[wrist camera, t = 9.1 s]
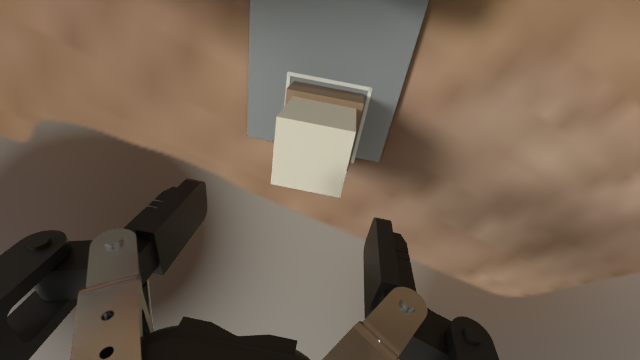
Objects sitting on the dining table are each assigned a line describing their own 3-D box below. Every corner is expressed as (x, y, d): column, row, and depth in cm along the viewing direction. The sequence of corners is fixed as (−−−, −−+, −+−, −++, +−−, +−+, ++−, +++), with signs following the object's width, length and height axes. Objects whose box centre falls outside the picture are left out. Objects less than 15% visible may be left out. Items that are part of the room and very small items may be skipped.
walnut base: (294, 80, 24) (286, 88, 21) (363, 94, 24) (363, 103, 21) (287, 144, 27) (280, 158, 24) (348, 156, 27) (347, 171, 24)
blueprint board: (254, -103, 18) (252, -105, 18) (448, -68, 18) (450, -69, 18) (248, 140, 28) (246, 142, 27) (377, 165, 27) (377, 168, 27)
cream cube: (292, 96, 21) (276, 116, 17) (356, 108, 21) (356, 132, 17) (286, 153, 24) (270, 183, 20) (343, 165, 24) (339, 197, 20)
